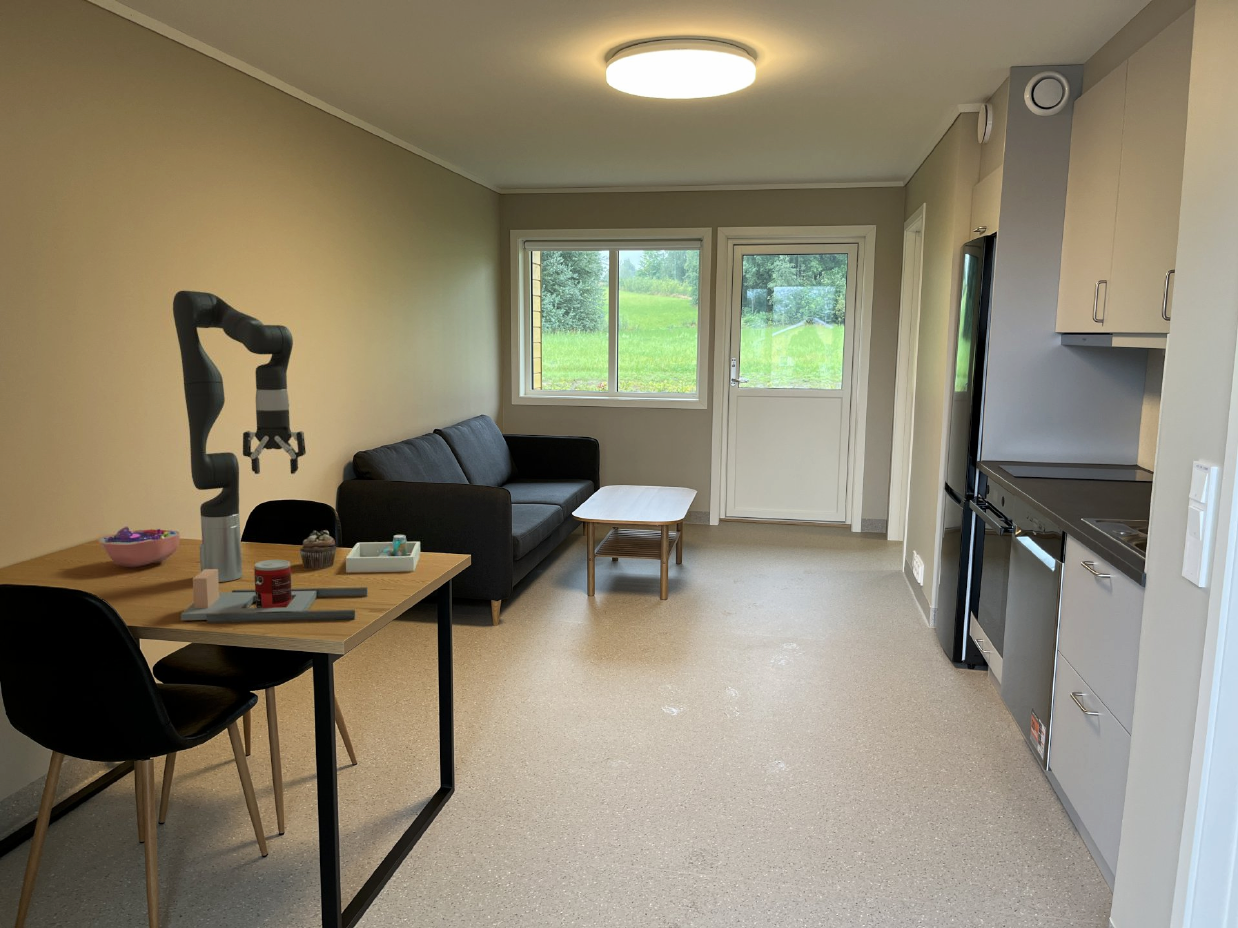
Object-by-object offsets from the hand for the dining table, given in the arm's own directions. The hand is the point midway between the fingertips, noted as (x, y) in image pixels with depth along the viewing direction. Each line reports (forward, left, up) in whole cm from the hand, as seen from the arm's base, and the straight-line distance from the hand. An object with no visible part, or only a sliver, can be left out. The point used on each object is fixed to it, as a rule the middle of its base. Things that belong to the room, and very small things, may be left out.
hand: (275, 473), depth 216 cm
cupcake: (+4, +25, -30) cm, 40 cm away
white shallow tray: (+22, +26, -30) cm, 45 cm away
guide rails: (+6, -14, -30) cm, 34 cm away
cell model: (-44, +29, -30) cm, 61 cm away
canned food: (+2, -14, -30) cm, 33 cm away
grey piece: (-3, -14, -30) cm, 33 cm away
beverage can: (+24, +27, -30) cm, 47 cm away
